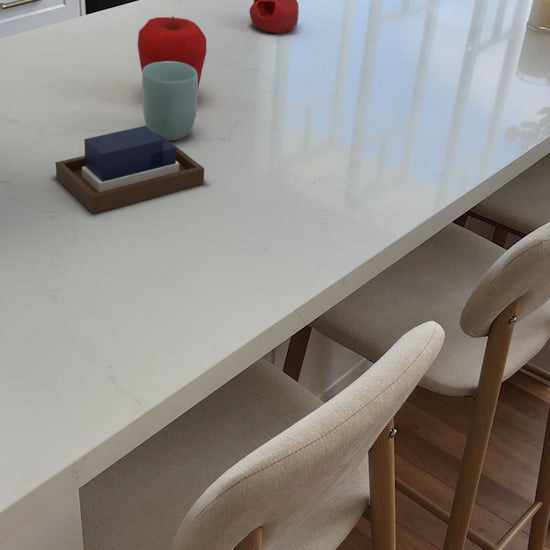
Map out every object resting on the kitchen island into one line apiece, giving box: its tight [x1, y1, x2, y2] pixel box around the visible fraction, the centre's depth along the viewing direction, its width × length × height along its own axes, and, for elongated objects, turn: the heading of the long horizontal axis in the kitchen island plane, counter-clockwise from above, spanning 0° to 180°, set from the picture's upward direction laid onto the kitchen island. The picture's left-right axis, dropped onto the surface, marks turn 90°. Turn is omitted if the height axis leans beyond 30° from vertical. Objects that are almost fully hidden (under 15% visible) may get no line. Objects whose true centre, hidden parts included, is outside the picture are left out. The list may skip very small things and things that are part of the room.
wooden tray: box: [55, 137, 205, 215], centre depth 119 cm, size 17×11×2 cm, turn 127°
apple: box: [137, 15, 207, 93], centre depth 139 cm, size 10×10×14 cm
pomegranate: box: [248, 0, 300, 34], centre depth 173 cm, size 10×10×9 cm
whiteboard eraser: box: [82, 125, 179, 192], centre depth 118 cm, size 12×5×6 cm, turn 126°
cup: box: [141, 61, 198, 142], centre depth 130 cm, size 8×8×10 cm
